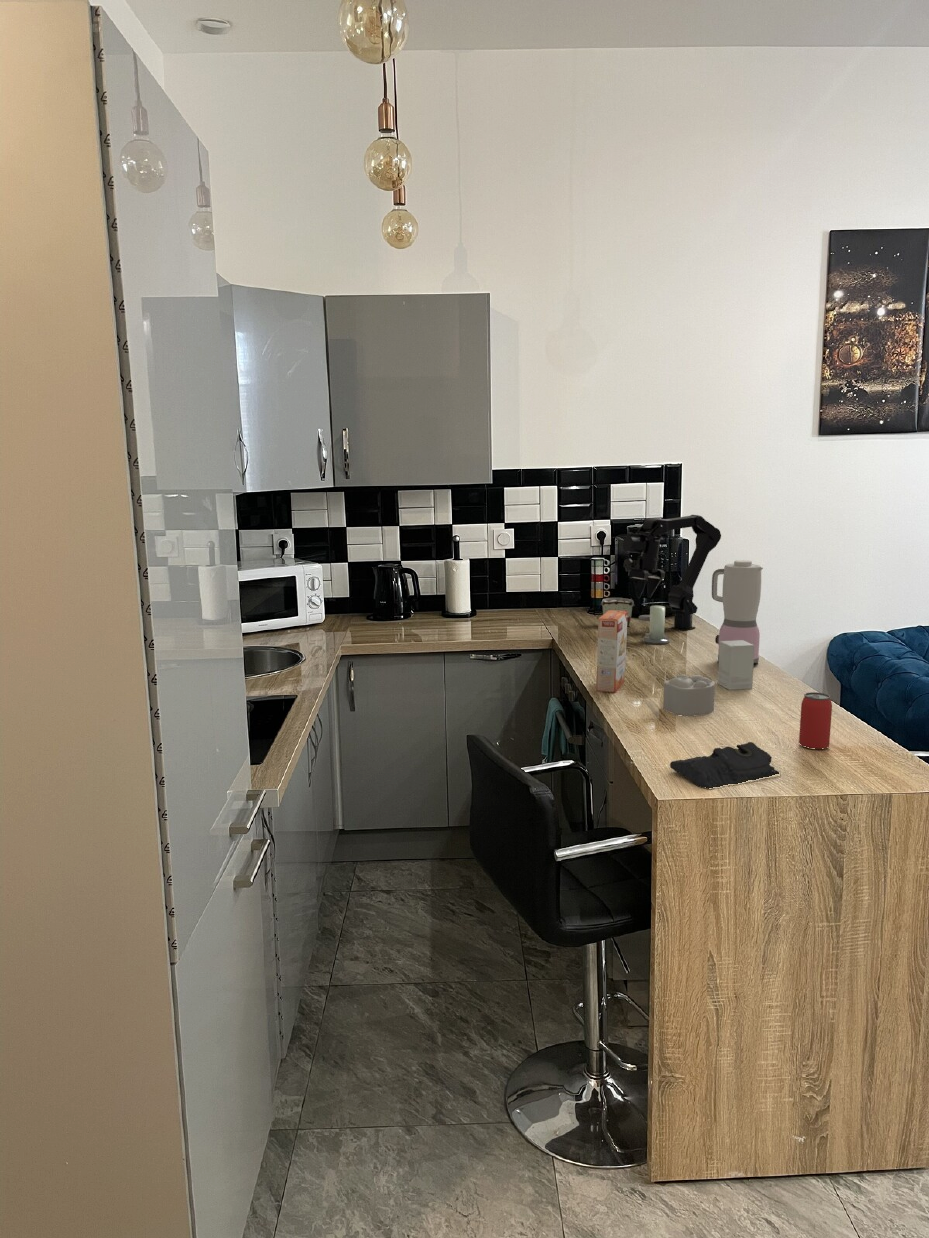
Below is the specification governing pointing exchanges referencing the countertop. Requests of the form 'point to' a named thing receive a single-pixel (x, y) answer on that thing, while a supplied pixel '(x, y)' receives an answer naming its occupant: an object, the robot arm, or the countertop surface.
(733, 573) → the blender
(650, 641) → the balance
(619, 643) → the cracker box
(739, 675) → the supplement box
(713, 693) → the lumpy-topped squat cylinder
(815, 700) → the beer can
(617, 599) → the food container
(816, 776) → the countertop surface
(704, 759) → the folded black cloth
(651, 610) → the sage green rounded block
